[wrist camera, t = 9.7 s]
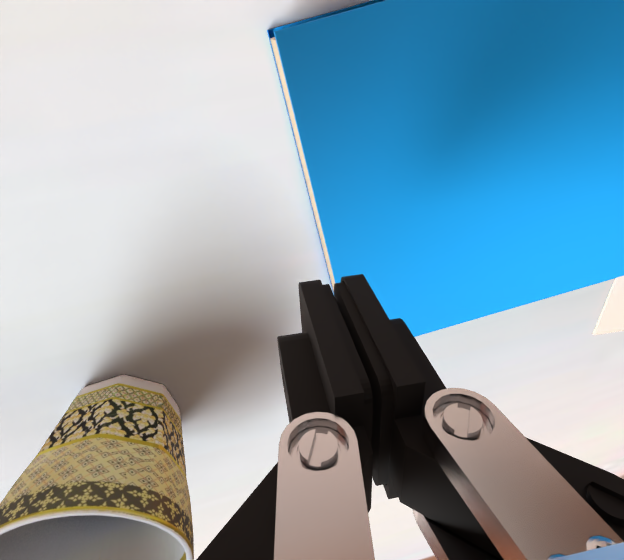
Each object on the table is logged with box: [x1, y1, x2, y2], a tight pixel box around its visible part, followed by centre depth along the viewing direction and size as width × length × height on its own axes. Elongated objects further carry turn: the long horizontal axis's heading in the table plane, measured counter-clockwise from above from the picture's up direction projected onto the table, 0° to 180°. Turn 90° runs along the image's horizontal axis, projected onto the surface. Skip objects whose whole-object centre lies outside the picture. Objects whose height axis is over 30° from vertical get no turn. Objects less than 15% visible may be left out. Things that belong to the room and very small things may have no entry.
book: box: [267, 0, 624, 337], centre depth 21 cm, size 17×4×25 cm
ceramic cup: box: [0, 375, 194, 560], centre depth 24 cm, size 13×10×10 cm
